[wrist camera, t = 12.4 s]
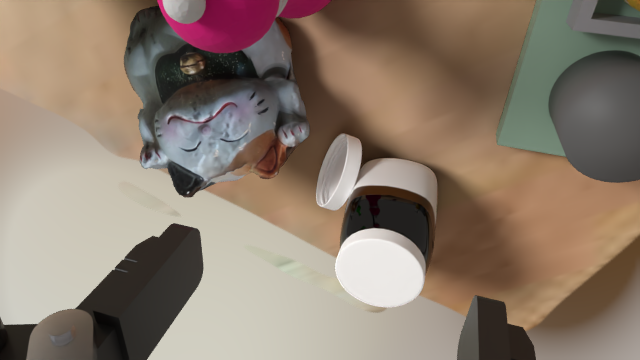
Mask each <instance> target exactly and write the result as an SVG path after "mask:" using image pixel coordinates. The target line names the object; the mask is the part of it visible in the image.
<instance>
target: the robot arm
mask: <svg viewBox="0 0 640 360" xmlns="http://www.w3.org/2000/svg"><path fill="white" fill-rule="evenodd" d="M202 274H203V257H202V247H201V238H200V232H199V230H198V229H196V228H192V227H188V226H184V225H179V224H175V223H174V224H171V225H170V226H169V227H168V228H167V229H166V230H165V232H163V234H162V235H161V236H160V237H155V236H152V237H150V238H148V239H146V240H145V241H143V242H141V243H139V244H138V245H136V246H135V247H134V248H133V249H132V250H131V251H130V252H129V253H128V254H127V256H126V257H125V259H124V260H122V261H121V262H120V263H119V264H118V265H117V266H116V267H115V270H112V271H111V272H110V273H109V274H108V275H107V277H106V278H105V279H104V280H103V281H102V282H101V283H100V284H99V285H98V286H97V287H96V288H95V289H94V290H93V291H92V292H91V293H90V294H89V295H88V296H87V297H86V298H85V299H84V300H83V301H82V303H81V304H80V305H79V306H78V307H77V308H75V309H67V310H62V311H58V312H56V313H53V314H52V315H49V316H48V317H46V318H45V319H43V320H42V321H41V322H40V323H39V324H24V325H3V323H2V321H1V318H0V360H147V359H148V357H149V355H150V354H151V353H152V351H153V350H154V348H155V347H156V346H157V344H158V343H159V341H160V340H161V338H162V337H163V336H164V334H165V333H166V331H167V329H168V328H169V327H170V325H171V324H172V323H173V321H174V319H175V318H176V317H177V315H178V314H179V312H180V311H181V310H182V308H183V307H184V305H185V304H186V302H187V301H188V300H189V298H190V297H191V295H192V294H193V292H194V291H195V290H196V288H197V287H198V285H199V283H200V281H201V278H202ZM457 360H536V357H535V351H534V346H533V344H532V342H531V340H530V339H529V337H528V335H527V334H526V332H525V330H524V329H523V327H519V326H515V325H511V324H507V314H506V305H505V303H504V302H502V301H498V300H494V299H489V298H485V297H481V296H477V295H475V296H474V298H473V300H472V303H471V306H470V309H469V311H468V314H467V317H466V320H465V323H464V326H463V329H462V331H461V335H460V339H459V345H458V354H457Z"/></svg>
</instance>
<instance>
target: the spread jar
mask: <svg viewBox="0 0 640 360" xmlns="http://www.w3.org/2000/svg"><path fill="white" fill-rule="evenodd" d="M361 159H362V146H361V142H360V140H359V139H358V138H356V137H353V136H350V135H347V134H343V133H342V134H340V135H339V136H337V137H336V139H335V140H334V141H333V143H332V144H331V146H330V148H329V149H328V151H327V154H326V156H325V158H324V161H323V163H322V166H321V169H320V173H319V177H318V181H317V187H316V200H317V204H318V205H319V206H320V207H323V208H327V209H330V210H338V209H339V208H340V207H342V206H343V204H344V203H345V202H346V200H347V199H348V197H349V199H348V203H347V206H346V209H345V214H344V218H343V223H342V228H341V235H340V251H339V253H338V256H337V259H336V264H335V270H336V275H337V278H338V280H339V282H340V284H341V285H342V287H343V288H344V289H345V290H346V291H347V292H348V293H349V294H350V295H352V296H353V297H354V298H356V299H358V300H360V301H362V302H364V303H366V304H369V305H373V306H377V307H396V306H401V305H404V304H407V303H409V302H411V301H412V300H414V299H415V298H416V297H417V296H418V295H419V294H420V292H421V290H422V289H423V285H424V281H425V275H426V273H427V271H428V268H429V265H430V262H431V258H432V253H433V248H434V238H435V227H436V217H437V206H438V186H437V179H436V176H435V174H434V172H433V171H432V170H431V169H430V168H428V167H427V166H424V165H422V164H420V163H417V162H414V161H411V160H406V159H400V158H381V159H374V160H371V161H368V162H367V163H365V164H364V165H363V167H362V168H361V169H360V165H361ZM359 169H360V171H359ZM358 173H359V174H358Z"/></svg>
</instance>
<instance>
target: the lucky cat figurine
mask: <svg viewBox="0 0 640 360" xmlns="http://www.w3.org/2000/svg"><path fill="white" fill-rule="evenodd" d="M291 51H292V43H291V38H290V35H289V32H288V29H287V28H286V27H285V26H284V24H283V23H282V22H281V21H280V19H279V18H278V17H276V18H275V20H274V22H273V24H272V26H271V28H270V29H269V31H268V32H267V33H266V34H265V35H264V36H263V37H262V38H261V39H260V40H259V41H257V42H256V43H254V44H253V45H251V46H250V47H248V48H245V49H242V50H239V51H236V52H231V53H214V52H210V51H205V50H202V49H199V48H197V47H194V46H192V45H191V44H189V43H188V42H186V41H184V40H183V39H182V38H181V37H180V36H179V35H178V34H177V33H176V32H175V31H174V30H173V29H172V27H171V26H170V25H169V24H168V22H167V21H166V19H165V17H164V15H163V14H162V12H161V9H160V7H159V6H155V7H150V8H147V9H143V10H141V11H139V12H137V13H136V16H135V17H134V19H133V21H132V23H131V26H130V35H129V38H128V41H127V47H126V51H125V55H124V67H125V71H126V74H127V77H128V79H129V81H130V84H131V86H132V88H133V90H134V91H135V92H136V93H137V94H138V96H139V97H140V99H141V100H142V102H143V108H144V109H140V112H139V114H138V119H139V130H140V133H141V136H142V140H143V144H144V147H143V148H142V151H141V155H140V163H141V165H142V167H143V168H145V169H147V168H154V169H161V168H168V172H169V174H170V176H171V178H172V181H173V185H174V187H175V189H176V191H177V192H178V193H179V195H182V196H183V197H192V196H193V195H194V194H195V193H196V192H197V191H199V190H203V189H205V188H207V187H208V186H210V185H213V184H215V183H217V182H224V181H235V180H238V179H240V178H242V177H243V176H245V175H247V174H249V173H252V172H253V173H255V174H257V175H258V176H260V178H262V179H271V178H273V177H275V176H276V175H277V174H278V173H279V168H280V167H281V166H283V165H284V163H285V162H286V160H287V159H288V157H289V156H290V154H291V153H292V152H293V151H294V149H295V148H296V147H297V146H298V144H299V143H301V142H302V141H304V140H305V139H306V138H307V137H308V136H309V132H310V126H309V123H308V121H307V119H306V110H305V106H304V102H303V101H302V100H301V96H300V92H299V88H298V87H299V86H298V84H297V81H296V78H295V75H294V70H293V65H292V58H291Z"/></svg>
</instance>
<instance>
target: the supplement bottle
mask: <svg viewBox="0 0 640 360" xmlns="http://www.w3.org/2000/svg"><path fill="white" fill-rule="evenodd" d="M623 1H624V2H625V3H627V4H628V5H629V6H631V7H633V8H635V9H636V10H638V11H640V0H623Z"/></svg>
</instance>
